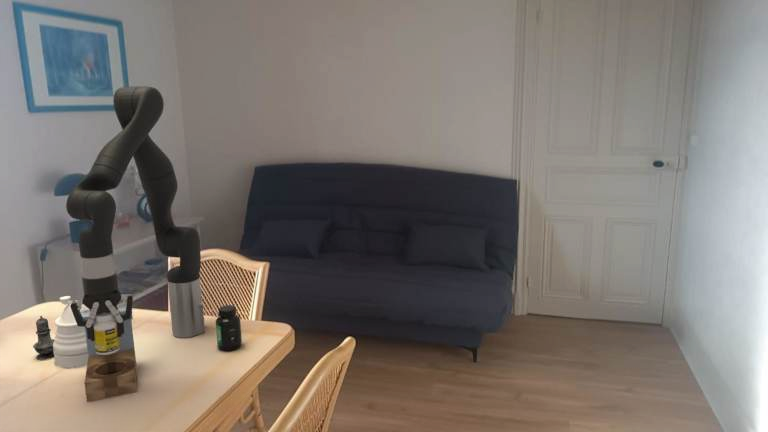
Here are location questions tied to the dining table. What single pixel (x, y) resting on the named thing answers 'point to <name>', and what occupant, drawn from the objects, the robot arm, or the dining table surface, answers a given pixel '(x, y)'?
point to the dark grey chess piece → (43, 340)
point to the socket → (110, 375)
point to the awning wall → (124, 341)
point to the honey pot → (70, 339)
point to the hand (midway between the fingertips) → (106, 337)
